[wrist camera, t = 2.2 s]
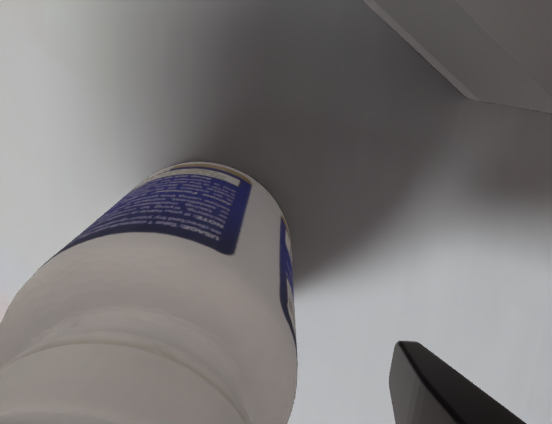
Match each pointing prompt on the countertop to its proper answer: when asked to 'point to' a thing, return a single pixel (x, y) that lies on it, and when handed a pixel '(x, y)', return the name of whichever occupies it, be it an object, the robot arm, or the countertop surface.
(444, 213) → the countertop surface
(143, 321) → the pill bottle
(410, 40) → the walled box
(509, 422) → the robot arm
